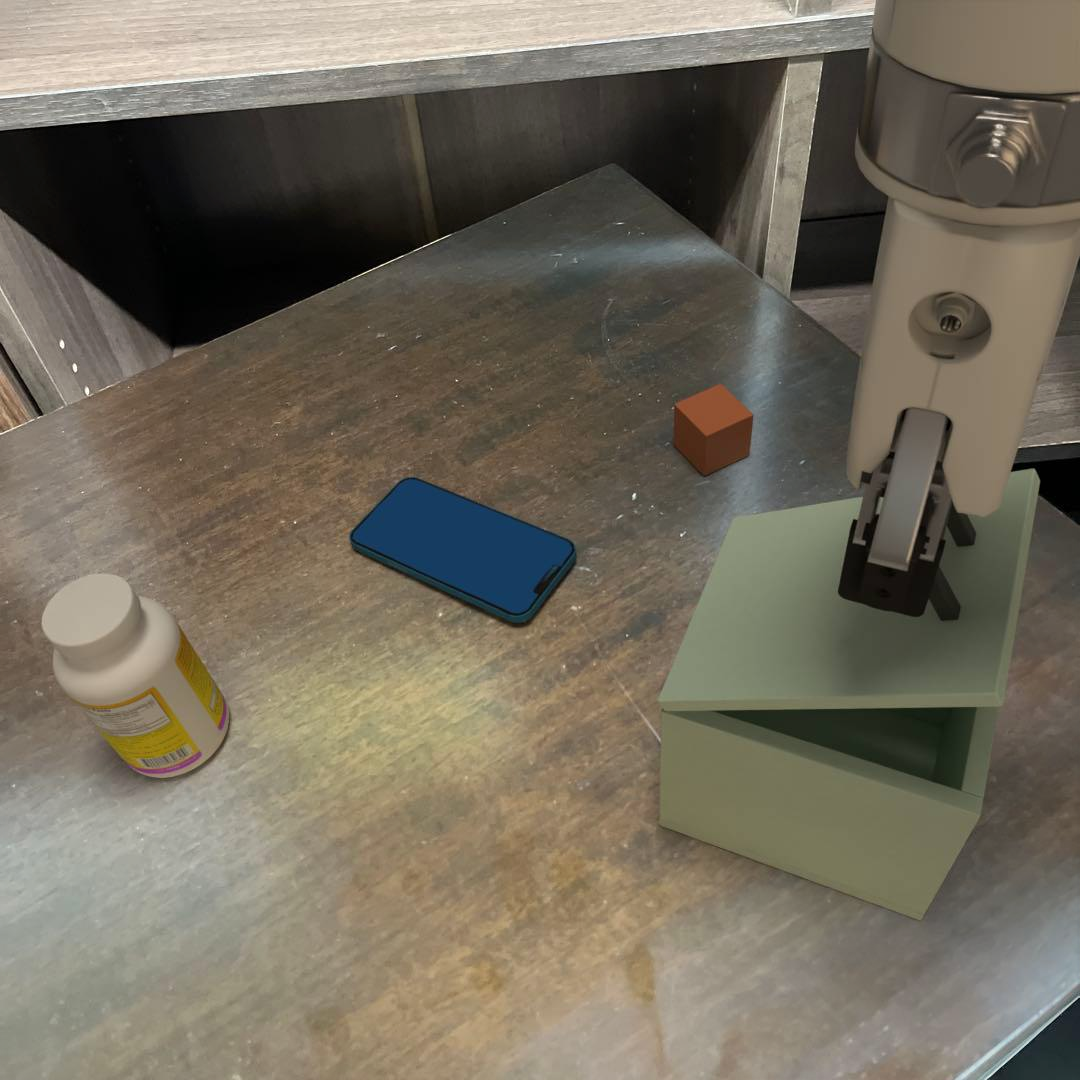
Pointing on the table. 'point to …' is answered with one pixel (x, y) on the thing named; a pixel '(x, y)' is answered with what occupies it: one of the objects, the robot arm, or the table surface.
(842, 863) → the green box
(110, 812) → the table surface
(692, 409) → the block
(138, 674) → the supplement bottle
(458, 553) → the smartphone
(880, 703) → the box lid
